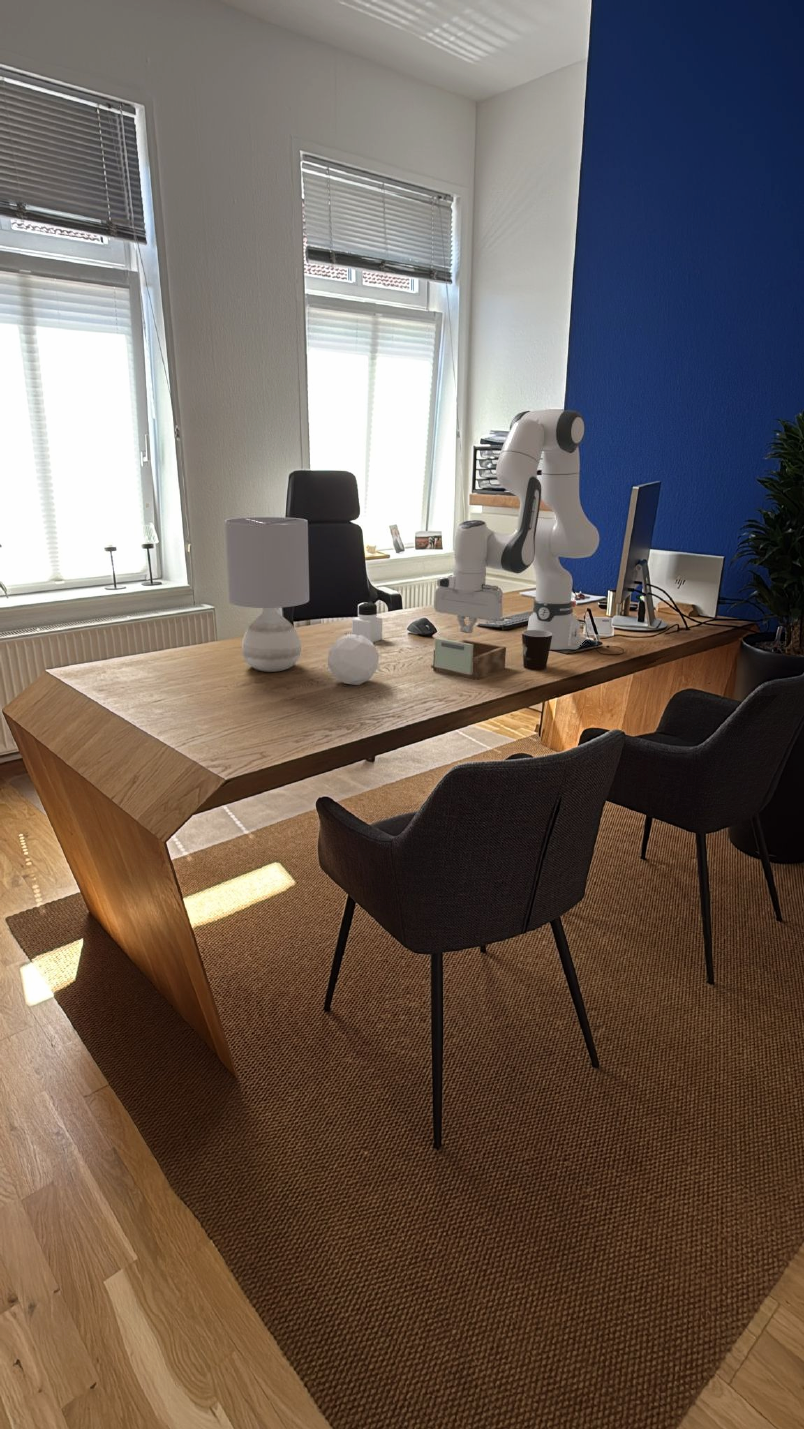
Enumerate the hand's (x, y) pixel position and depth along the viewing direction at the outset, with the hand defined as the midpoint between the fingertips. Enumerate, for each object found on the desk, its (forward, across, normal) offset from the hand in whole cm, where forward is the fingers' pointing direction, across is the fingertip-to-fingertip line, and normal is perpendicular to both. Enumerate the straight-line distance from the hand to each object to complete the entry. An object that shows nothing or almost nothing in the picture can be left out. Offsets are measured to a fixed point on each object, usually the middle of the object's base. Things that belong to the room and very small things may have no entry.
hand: (466, 632), depth 217 cm
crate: (+11, 0, -3) cm, 11 cm away
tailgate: (+10, 0, +6) cm, 12 cm away
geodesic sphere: (+12, +17, +28) cm, 35 cm away
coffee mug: (+11, -13, -18) cm, 24 cm away
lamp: (+12, +44, +31) cm, 55 cm away
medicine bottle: (+11, +44, -12) cm, 47 cm away
